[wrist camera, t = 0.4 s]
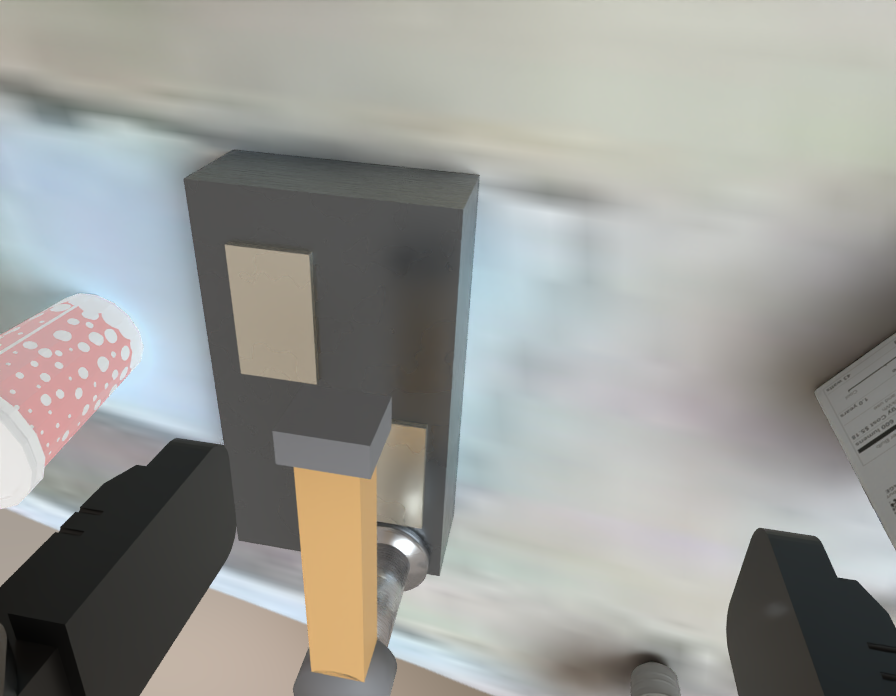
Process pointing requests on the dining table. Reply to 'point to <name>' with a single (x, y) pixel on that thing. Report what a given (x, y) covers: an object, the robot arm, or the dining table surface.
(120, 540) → the robot arm
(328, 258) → the grey rectangular block
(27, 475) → the beverage cup
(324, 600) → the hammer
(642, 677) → the lightbulb
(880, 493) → the light bulb box
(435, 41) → the dining table surface
